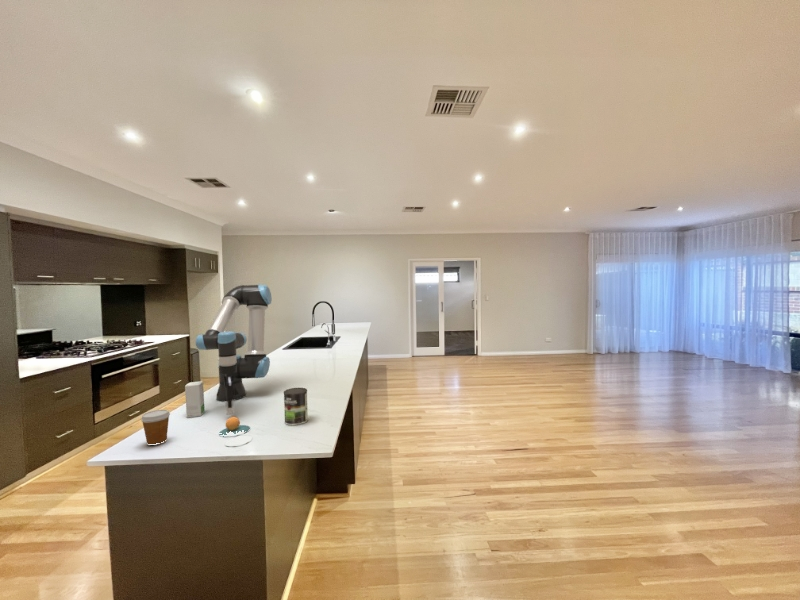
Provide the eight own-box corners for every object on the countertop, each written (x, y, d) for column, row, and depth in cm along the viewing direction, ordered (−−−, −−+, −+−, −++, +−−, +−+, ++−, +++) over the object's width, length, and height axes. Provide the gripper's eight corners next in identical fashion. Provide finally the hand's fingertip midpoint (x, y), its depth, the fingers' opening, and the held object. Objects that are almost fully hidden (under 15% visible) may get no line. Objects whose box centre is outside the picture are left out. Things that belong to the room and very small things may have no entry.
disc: (229, 425, 152) (229, 425, 152) (255, 425, 152) (255, 425, 152) (212, 437, 140) (212, 436, 140) (241, 437, 140) (241, 436, 140)
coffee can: (299, 426, 149) (297, 394, 149) (279, 424, 153) (278, 393, 152) (312, 418, 159) (311, 388, 158) (294, 415, 162) (293, 386, 162)
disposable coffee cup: (146, 440, 139) (144, 411, 138) (173, 435, 143) (172, 407, 142) (138, 450, 130) (137, 419, 130) (168, 445, 134) (167, 415, 134)
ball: (229, 418, 151) (230, 412, 147) (241, 422, 151) (242, 417, 148) (222, 430, 147) (223, 424, 143) (235, 434, 147) (235, 428, 144)
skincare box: (200, 416, 165) (199, 384, 164) (185, 418, 163) (183, 386, 162) (205, 410, 173) (203, 380, 172) (190, 412, 171) (188, 381, 170)
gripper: (217, 363, 165) (219, 411, 165) (220, 368, 154) (222, 419, 154) (235, 361, 169) (236, 408, 169) (238, 365, 158) (240, 416, 158)
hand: (229, 413), depth 162 cm, fingers closed
